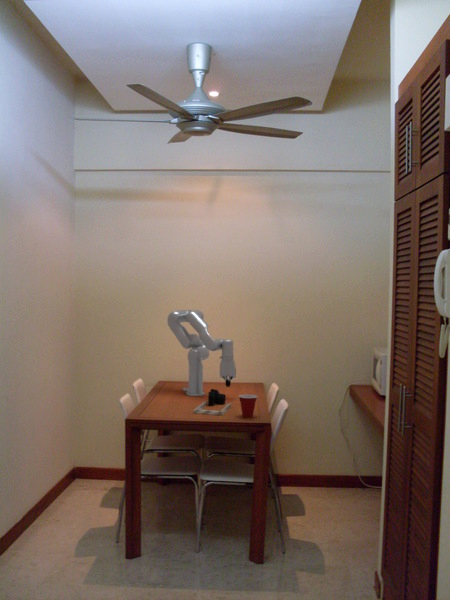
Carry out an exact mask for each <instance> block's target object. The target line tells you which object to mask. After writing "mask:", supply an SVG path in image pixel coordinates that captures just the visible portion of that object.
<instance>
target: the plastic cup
mask: <svg viewBox="0 0 450 600" xmlns="http://www.w3.org/2000/svg"><path fill="white" fill-rule="evenodd" d="M238 398H239V401H240V410H241V415H242V417H243V418H252V417H254V412H255V408H256V401H257V398H258V396H257V395H255V394H241V395H238Z"/></svg>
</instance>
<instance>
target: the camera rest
mask: <svg viewBox="0 0 450 600" xmlns="http://www.w3.org/2000/svg"><path fill="white" fill-rule="evenodd" d="M207 405H208V400H207V401H206V400H204V401H203V402H202V403H201V404H199V405H198V406H196V407H195V408H194V409H193V412H192V413H193V414H200V415H212V416H223V415H224V414H225V413H226V412H227V411H229V410H230V409H231V408H232V403H228V404H227V405H226V406H224V407H223V408H222V409H221V410H210V409H203V408H205V407H206V406H207Z"/></svg>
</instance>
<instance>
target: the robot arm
mask: <svg viewBox="0 0 450 600" xmlns="http://www.w3.org/2000/svg"><path fill="white" fill-rule="evenodd" d="M204 319H205V316H204V312H202V311H201V310H198V309H193V310H192V309H179V310H173V311H171V312H169V314H168V316H167V322H166V323H167V326H168V327H169V329H170V330H171V332H172V333H173V335H174V336H175V338H176V339H177V340H178V342H179V343H180V345H181V346H182V348H184V349H186V350H187V349H188V353H187V362H188V387H185V386H184V387H182V391H183V392H185V395H186V396H189V397H202V396H205V395H206V392H204V391H203V390H204V388H203V387H204V366H203V362H202V361H205V360H207V359H209V357H210V352H217V351H220V350H221V356H219V359H220V364H219V378H222V379H223V380H224V381H225V386H226V388H229V387H231V384H232V382H231V381H232V380H233V379H235V378H237V375H236V374H237V369H236V362H235V359H234V340H233V339H227V338H226V339H225V338H215V339H213V337H212V336H211V335H210V334H209V332H208V329H209V324H208V323H207V322H206V321H205V320H204ZM181 323H188V324H190V326H191V327H192V328H193V329H194V330H195V332H197V333H198V334H196V333H190V332H189V331H188V330H187V329H186V327H185V326H183V324H181ZM189 349H190V350H189Z"/></svg>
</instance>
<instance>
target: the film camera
mask: <svg viewBox="0 0 450 600" xmlns="http://www.w3.org/2000/svg"><path fill="white" fill-rule="evenodd" d="M207 397H208V398H207V405H208V407H213V406H214V405H218V404H219V405H223V404H225V403H226V399H227V398H226V394H224V393H220V391H219V389H215V388H211V389H210V391H209V392H208V396H207Z"/></svg>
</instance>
